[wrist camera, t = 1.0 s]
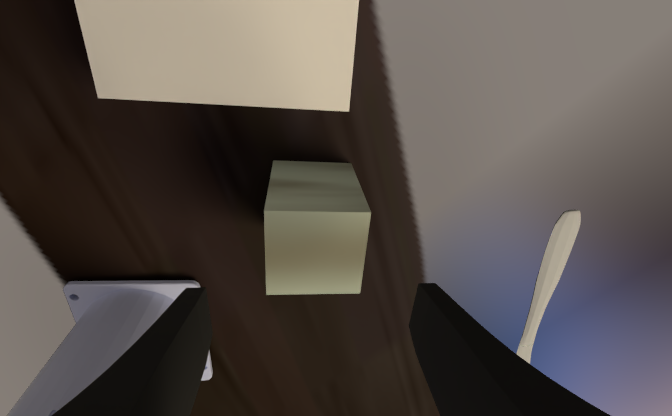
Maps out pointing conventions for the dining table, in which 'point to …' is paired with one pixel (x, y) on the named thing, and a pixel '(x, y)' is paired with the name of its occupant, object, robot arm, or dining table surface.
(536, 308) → the butter knife
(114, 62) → the base block
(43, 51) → the dining table surface
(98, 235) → the dining table surface
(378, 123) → the dining table surface
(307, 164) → the stacking block
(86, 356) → the robot arm
